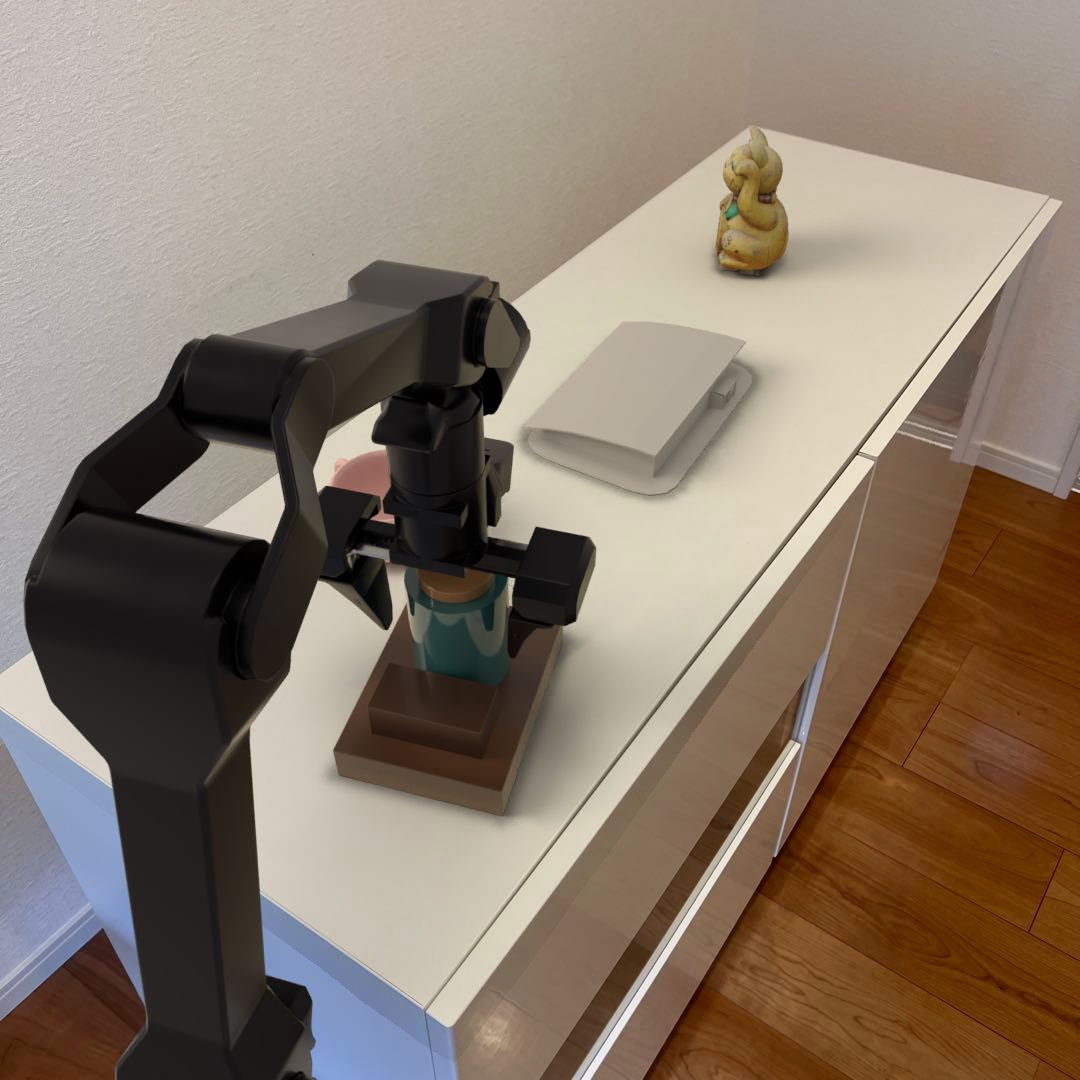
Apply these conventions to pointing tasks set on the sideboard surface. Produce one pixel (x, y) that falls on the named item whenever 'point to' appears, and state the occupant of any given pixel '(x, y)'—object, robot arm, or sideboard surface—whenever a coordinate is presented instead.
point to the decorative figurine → (752, 209)
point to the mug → (365, 477)
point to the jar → (459, 624)
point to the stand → (446, 724)
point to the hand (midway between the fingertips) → (450, 639)
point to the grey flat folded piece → (642, 405)
